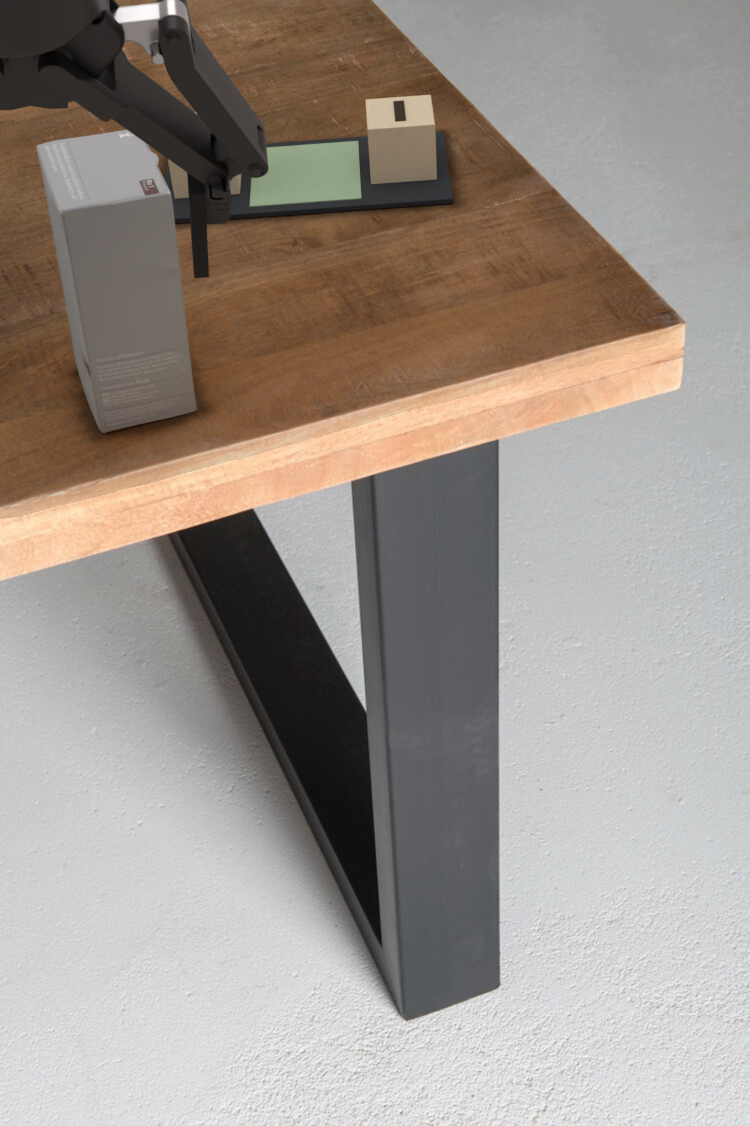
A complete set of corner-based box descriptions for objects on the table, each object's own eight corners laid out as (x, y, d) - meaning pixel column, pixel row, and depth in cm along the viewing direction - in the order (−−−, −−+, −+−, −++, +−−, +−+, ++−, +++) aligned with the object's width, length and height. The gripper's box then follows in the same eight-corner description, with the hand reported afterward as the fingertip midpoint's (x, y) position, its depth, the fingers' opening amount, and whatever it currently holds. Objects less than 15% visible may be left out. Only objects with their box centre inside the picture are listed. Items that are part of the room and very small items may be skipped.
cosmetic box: (75, 367, 93) (19, 142, 82) (181, 341, 94) (140, 117, 83) (100, 441, 87) (43, 209, 76) (212, 412, 88) (172, 181, 77)
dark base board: (159, 224, 106) (148, 163, 102) (169, 155, 114) (159, 95, 110) (453, 203, 105) (451, 140, 102) (442, 135, 113) (441, 75, 110)
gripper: (-373, -7, 49) (-197, 337, 68) (341, -23, 52) (317, 311, 71) (-352, -158, 52) (-189, 212, 71) (321, -165, 55) (303, 192, 74)
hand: (64, 262), depth 71 cm, fingers open, 13 cm apart
